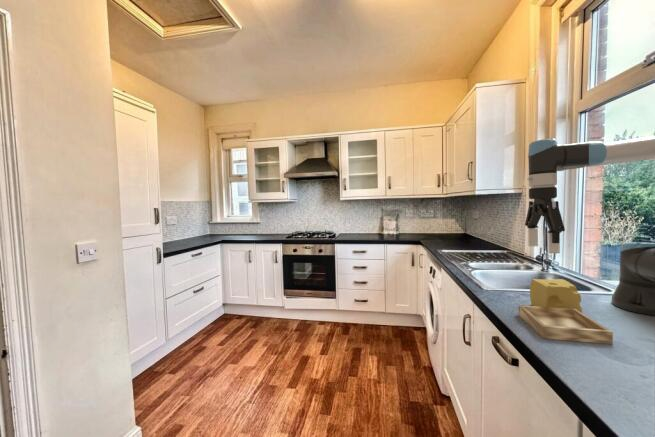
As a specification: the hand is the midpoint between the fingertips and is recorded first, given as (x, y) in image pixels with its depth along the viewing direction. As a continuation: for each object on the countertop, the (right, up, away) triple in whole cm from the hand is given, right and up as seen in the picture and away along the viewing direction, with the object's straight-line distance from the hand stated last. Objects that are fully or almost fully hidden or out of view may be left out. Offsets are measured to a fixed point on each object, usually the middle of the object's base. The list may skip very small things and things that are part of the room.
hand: (542, 249), depth 94 cm
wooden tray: (-3, -22, -11) cm, 25 cm away
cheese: (+5, -22, +2) cm, 22 cm away
